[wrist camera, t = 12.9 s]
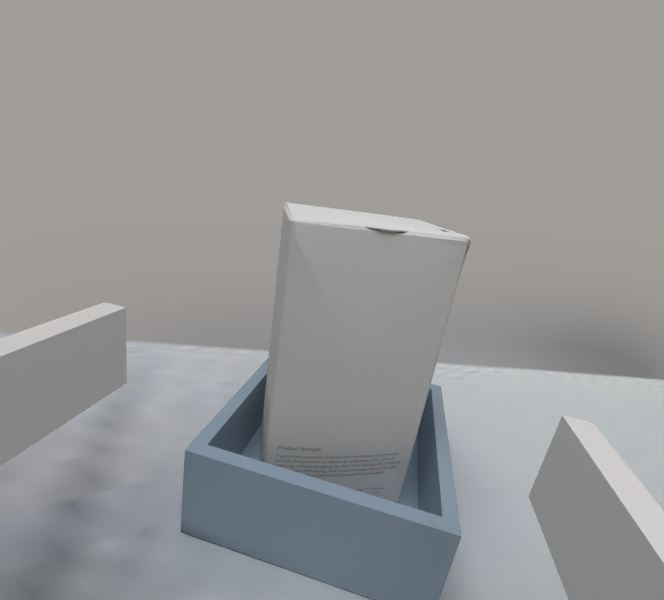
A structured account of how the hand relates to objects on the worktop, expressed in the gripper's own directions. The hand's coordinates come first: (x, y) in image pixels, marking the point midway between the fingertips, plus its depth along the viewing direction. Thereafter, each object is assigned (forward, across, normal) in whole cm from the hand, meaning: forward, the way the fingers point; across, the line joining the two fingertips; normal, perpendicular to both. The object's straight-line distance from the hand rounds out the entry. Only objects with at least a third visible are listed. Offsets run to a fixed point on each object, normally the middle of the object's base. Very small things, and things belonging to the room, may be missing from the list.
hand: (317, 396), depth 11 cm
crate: (+9, 0, -12) cm, 15 cm away
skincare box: (+9, 0, -11) cm, 14 cm away
